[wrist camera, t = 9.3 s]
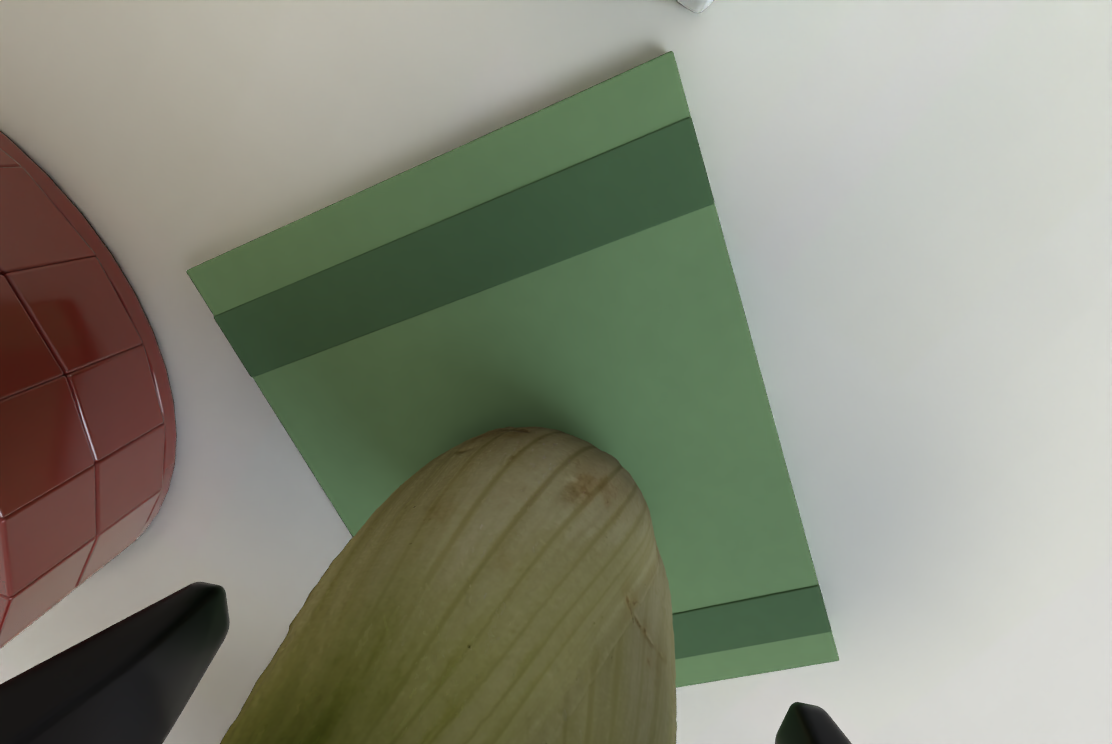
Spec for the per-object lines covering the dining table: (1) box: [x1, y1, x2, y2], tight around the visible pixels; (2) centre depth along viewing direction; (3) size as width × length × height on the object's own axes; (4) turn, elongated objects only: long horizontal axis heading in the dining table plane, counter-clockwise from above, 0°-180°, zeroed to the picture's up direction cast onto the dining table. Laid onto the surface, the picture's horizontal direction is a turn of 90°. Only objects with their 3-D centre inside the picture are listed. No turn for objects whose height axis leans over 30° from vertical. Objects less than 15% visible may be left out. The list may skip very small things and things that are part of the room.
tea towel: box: [186, 51, 839, 687], centre depth 13 cm, size 15×11×1 cm
